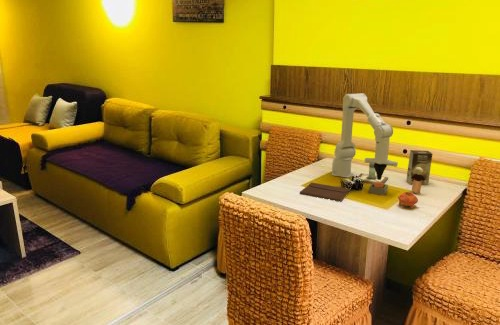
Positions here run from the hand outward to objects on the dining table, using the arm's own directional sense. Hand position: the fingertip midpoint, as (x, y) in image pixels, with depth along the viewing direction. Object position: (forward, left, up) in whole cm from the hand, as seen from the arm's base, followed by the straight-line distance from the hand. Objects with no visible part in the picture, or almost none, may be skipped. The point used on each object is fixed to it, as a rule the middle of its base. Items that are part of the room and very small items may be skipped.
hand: (379, 179), depth 190 cm
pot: (+15, -12, -7) cm, 20 cm away
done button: (0, 0, -5) cm, 5 cm away
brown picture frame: (-7, +16, -6) cm, 19 cm away
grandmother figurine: (+16, +7, -6) cm, 19 cm away
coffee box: (+14, +23, -7) cm, 28 cm away
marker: (-7, +16, -5) cm, 18 cm away
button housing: (0, 0, -6) cm, 6 cm away
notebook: (-21, -14, -7) cm, 26 cm away
